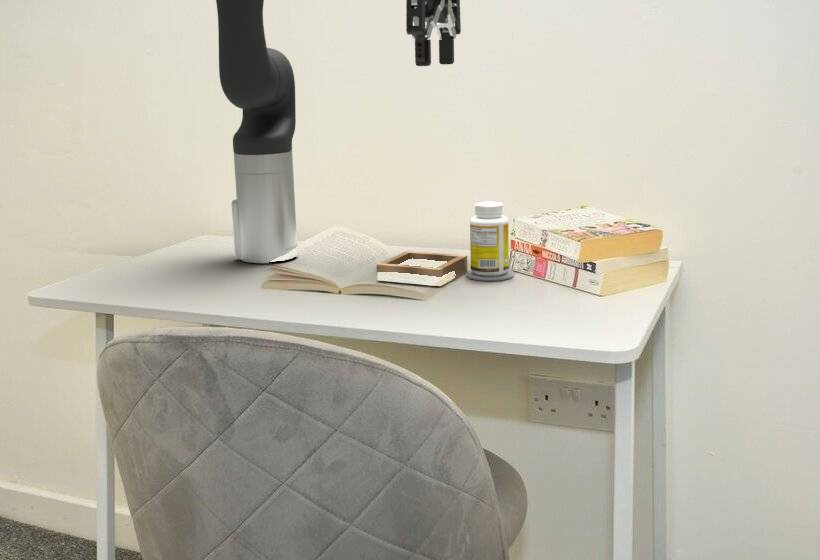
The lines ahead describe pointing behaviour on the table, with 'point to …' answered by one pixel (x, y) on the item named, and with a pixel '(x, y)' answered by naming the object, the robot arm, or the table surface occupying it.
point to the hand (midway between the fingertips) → (435, 65)
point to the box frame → (453, 264)
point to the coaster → (490, 278)
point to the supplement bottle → (489, 240)
